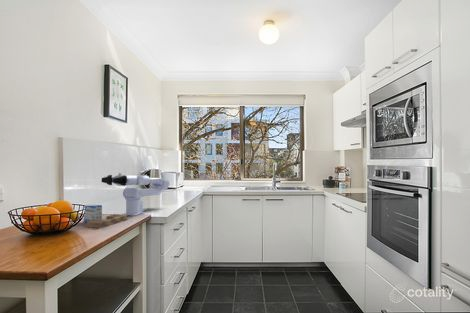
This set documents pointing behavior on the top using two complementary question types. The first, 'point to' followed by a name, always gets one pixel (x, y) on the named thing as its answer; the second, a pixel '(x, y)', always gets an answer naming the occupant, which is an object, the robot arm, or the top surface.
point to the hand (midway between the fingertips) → (107, 180)
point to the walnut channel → (106, 221)
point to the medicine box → (93, 212)
